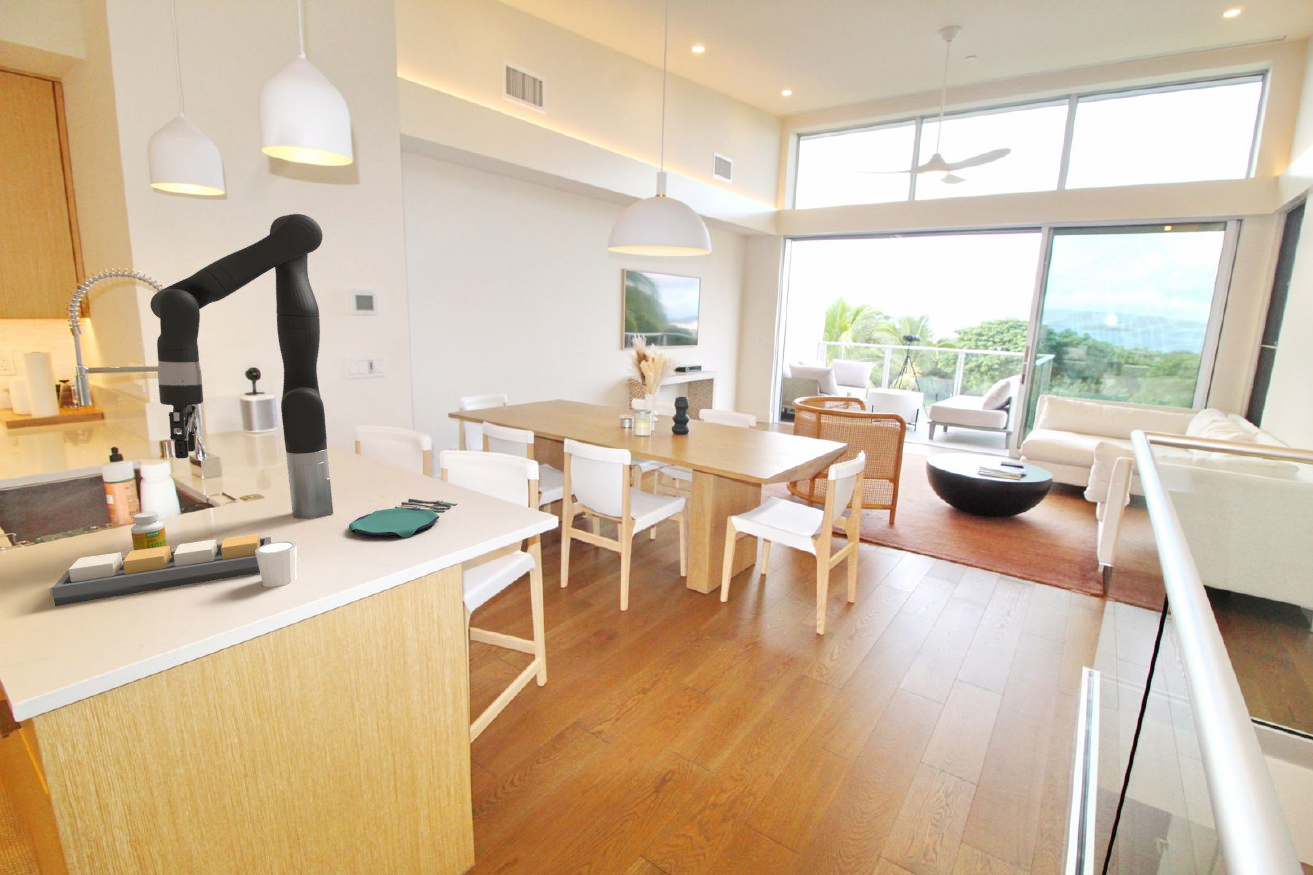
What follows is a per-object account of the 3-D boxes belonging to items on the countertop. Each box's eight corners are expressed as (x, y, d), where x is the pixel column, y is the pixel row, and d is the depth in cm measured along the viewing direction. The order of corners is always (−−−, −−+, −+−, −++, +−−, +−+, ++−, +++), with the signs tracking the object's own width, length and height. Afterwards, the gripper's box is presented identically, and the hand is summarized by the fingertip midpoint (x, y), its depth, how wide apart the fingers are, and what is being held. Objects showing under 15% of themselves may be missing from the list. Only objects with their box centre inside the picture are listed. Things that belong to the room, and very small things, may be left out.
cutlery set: (332, 537, 141) (331, 528, 141) (404, 502, 170) (404, 495, 170) (410, 544, 138) (409, 534, 138) (470, 507, 167) (469, 499, 167)
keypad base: (272, 551, 131) (270, 536, 131) (269, 571, 121) (267, 555, 121) (77, 581, 116) (74, 564, 115) (54, 606, 106) (51, 587, 105)
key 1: (260, 544, 127) (259, 533, 127) (258, 554, 122) (257, 542, 122) (226, 549, 125) (224, 538, 124) (222, 559, 119) (221, 547, 119)
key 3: (171, 557, 120) (169, 545, 120) (165, 568, 115) (163, 555, 115) (132, 563, 117) (130, 550, 117) (124, 574, 112) (122, 561, 112)
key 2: (217, 550, 124) (215, 539, 123) (213, 560, 119) (211, 549, 118) (180, 556, 121) (179, 544, 120) (175, 566, 116) (173, 554, 115)
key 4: (122, 564, 116) (120, 552, 116) (114, 575, 111) (112, 563, 111) (81, 570, 113) (79, 557, 113) (71, 582, 108) (68, 569, 108)
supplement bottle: (149, 563, 124) (142, 519, 122) (129, 561, 125) (121, 517, 124) (175, 554, 130) (168, 511, 128) (154, 552, 131) (148, 509, 129)
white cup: (270, 573, 120) (267, 541, 119) (306, 573, 121) (303, 540, 119) (251, 588, 113) (246, 554, 112) (289, 587, 114) (285, 553, 113)
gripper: (196, 385, 127) (201, 459, 130) (206, 380, 139) (211, 448, 142) (150, 384, 123) (157, 461, 126) (166, 379, 136) (171, 449, 138)
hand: (186, 454), depth 134 cm, fingers open, 8 cm apart
